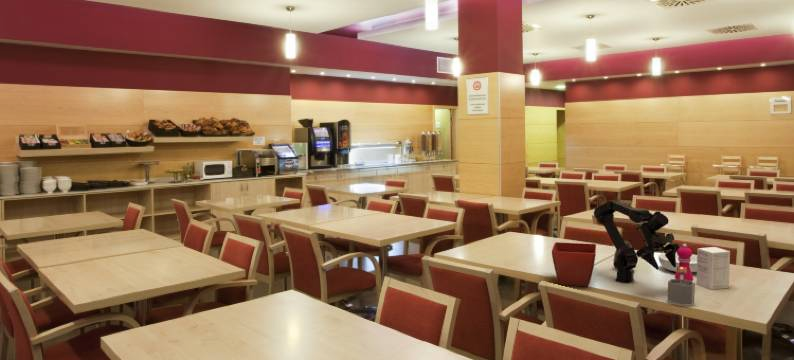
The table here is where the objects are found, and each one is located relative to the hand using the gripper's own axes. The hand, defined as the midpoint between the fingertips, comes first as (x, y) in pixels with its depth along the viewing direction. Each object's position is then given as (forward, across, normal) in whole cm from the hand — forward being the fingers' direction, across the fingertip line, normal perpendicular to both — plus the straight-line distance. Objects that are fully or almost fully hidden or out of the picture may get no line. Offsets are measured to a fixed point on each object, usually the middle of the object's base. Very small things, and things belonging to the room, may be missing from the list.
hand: (666, 268), depth 226 cm
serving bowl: (-7, +37, +30) cm, 48 cm away
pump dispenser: (-14, +12, +39) cm, 43 cm away
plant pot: (-9, -24, +33) cm, 41 cm away
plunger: (+9, -1, -3) cm, 10 cm away
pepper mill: (+6, +16, +13) cm, 22 cm away
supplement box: (+8, +30, +10) cm, 32 cm away
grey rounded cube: (+15, -1, +1) cm, 15 cm away
